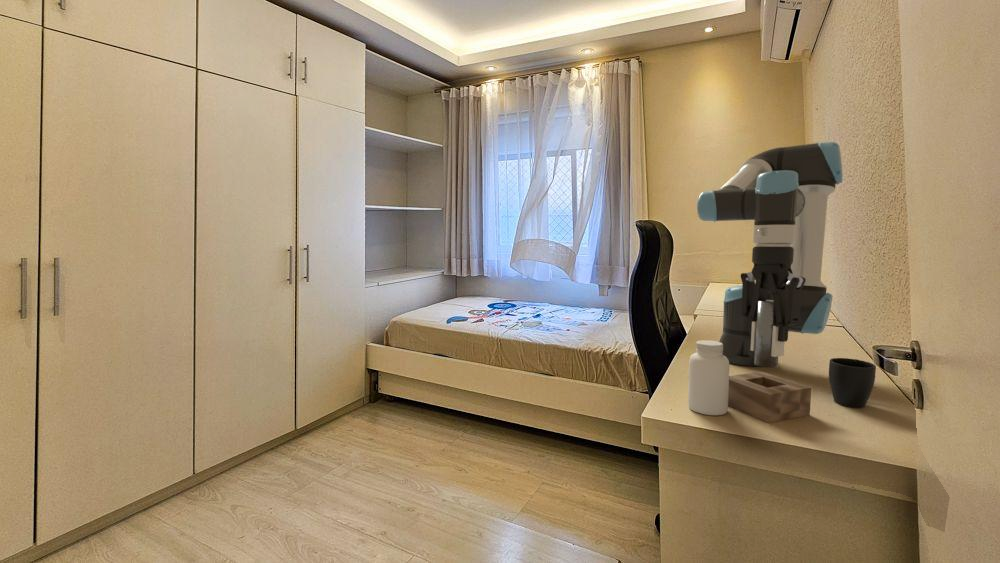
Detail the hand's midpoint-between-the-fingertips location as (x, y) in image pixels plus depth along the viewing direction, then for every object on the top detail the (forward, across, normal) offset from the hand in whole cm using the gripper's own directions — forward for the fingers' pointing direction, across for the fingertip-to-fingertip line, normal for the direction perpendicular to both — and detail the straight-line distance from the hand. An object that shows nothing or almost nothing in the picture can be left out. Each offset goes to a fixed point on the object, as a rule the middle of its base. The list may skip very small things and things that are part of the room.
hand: (766, 352), depth 96 cm
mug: (+13, +4, +23) cm, 26 cm away
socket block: (+13, 0, 0) cm, 13 cm away
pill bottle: (+13, -4, -12) cm, 18 cm away
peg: (+3, 0, 0) cm, 3 cm away
